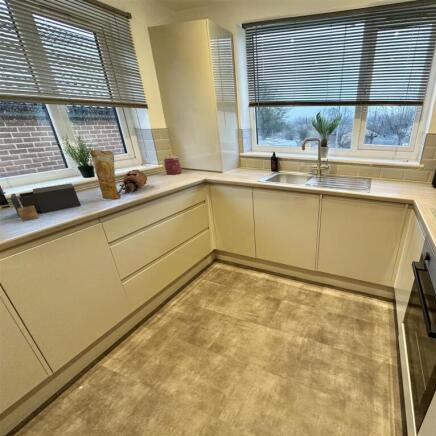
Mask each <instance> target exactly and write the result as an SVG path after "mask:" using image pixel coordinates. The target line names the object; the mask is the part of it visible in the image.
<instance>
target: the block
mask: <svg viewBox="0 0 436 436" xmlns="http://www.w3.org/2000/svg"><path fill="white" fill-rule="evenodd" d="M21 207H22V208H18V210H17V211H18V213H19V215H20V216H19V215H18V216H19V217H20V219H21V221H22V222H27V221H33V220H37V219H39V218H40V215H39V213H38V211H36V209H35V207H34V205H33V206H27V207H23V206H21ZM17 211H16V212H17ZM18 213H17V214H18Z"/></svg>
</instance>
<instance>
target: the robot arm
mask: <svg viewBox="0 0 436 436" xmlns="http://www.w3.org/2000/svg"><path fill="white" fill-rule="evenodd" d="M5 194H7V192H6V191H4V190H3V188H2V186H1V185H0V206H2V205H8V204H10V203H8V202H9V201H8V200H7V197H6V195H5ZM0 208H1V209H9V208H11V206H5V207H0Z"/></svg>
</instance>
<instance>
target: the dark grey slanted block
mask: <svg viewBox="0 0 436 436" xmlns="http://www.w3.org/2000/svg"><path fill="white" fill-rule="evenodd" d="M32 192H33V195H34V197H35V199H36V201H37V204H38V206H39V208H40V210H41V211H40V212H41V214H47V213H53V212H57V211H63V210H67V209H72V208H77V207H81V206H82V204H81V202H80V200H79V197H78V194H77V192H76V189H75V187H74V185H73V184H72V183H71V182H70V183H65V184H57V185H50V186H43V187H36V188H32Z"/></svg>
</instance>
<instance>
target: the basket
mask: <svg viewBox="0 0 436 436" xmlns="http://www.w3.org/2000/svg"><path fill="white" fill-rule="evenodd" d="M16 194H17V193H11V195H10V200H9V201H8V203H9V204H8V205H2V206H0V208H1V207H5V206H10V207H11V206H13V208H14V209H15V211H16V213H17V215H18V216H19V217H20V215H19V213H18V211H17V210H18V208H22V207H27V206H33V205H34V207H35V209H36V211H37V212H41V210H40V208H39V206H38V204H37V201H36V199H35V197H34V195H33V191H28V192H21V193H18V195H19V197H17V195H16Z"/></svg>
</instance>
